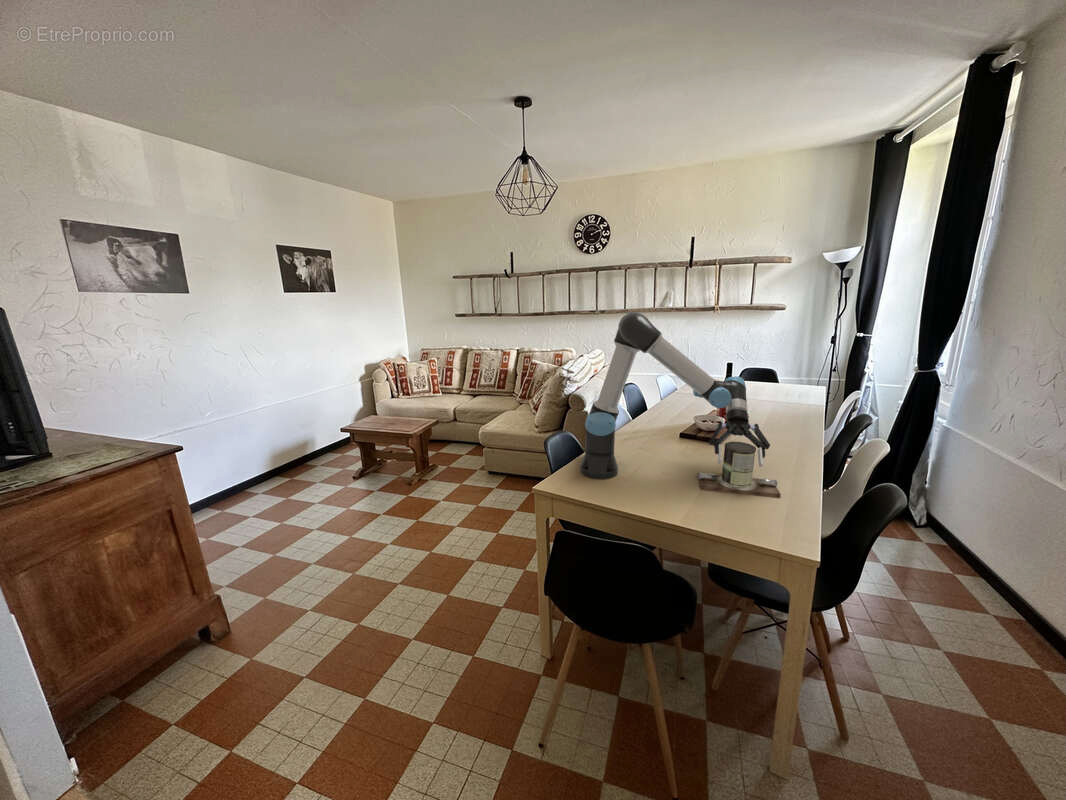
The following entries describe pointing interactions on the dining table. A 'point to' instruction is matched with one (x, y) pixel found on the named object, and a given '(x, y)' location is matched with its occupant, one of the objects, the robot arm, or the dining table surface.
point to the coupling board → (752, 490)
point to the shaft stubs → (761, 481)
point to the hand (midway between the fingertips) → (740, 463)
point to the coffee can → (738, 464)
